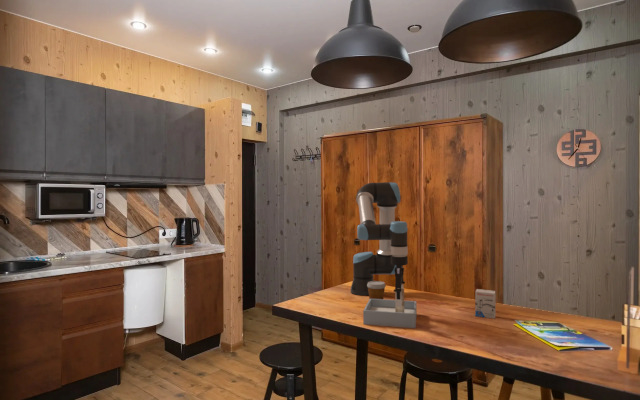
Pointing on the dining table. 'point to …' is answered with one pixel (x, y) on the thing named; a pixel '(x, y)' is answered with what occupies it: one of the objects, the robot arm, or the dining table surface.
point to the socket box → (389, 313)
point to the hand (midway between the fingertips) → (399, 302)
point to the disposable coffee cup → (376, 289)
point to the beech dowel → (401, 309)
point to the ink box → (485, 303)
